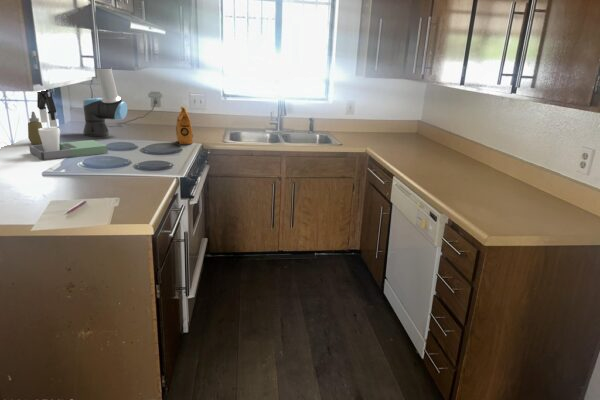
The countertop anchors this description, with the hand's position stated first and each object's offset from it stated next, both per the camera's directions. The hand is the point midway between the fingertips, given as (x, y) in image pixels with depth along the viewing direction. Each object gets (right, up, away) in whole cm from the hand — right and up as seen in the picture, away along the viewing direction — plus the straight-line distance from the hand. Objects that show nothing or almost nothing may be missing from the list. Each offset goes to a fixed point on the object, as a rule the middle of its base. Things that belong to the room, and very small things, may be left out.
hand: (48, 124), depth 216 cm
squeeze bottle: (-23, -6, +28) cm, 36 cm away
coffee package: (+54, -2, +53) cm, 76 cm away
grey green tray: (+5, -13, +10) cm, 18 cm away
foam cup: (-1, -15, +5) cm, 15 cm away
